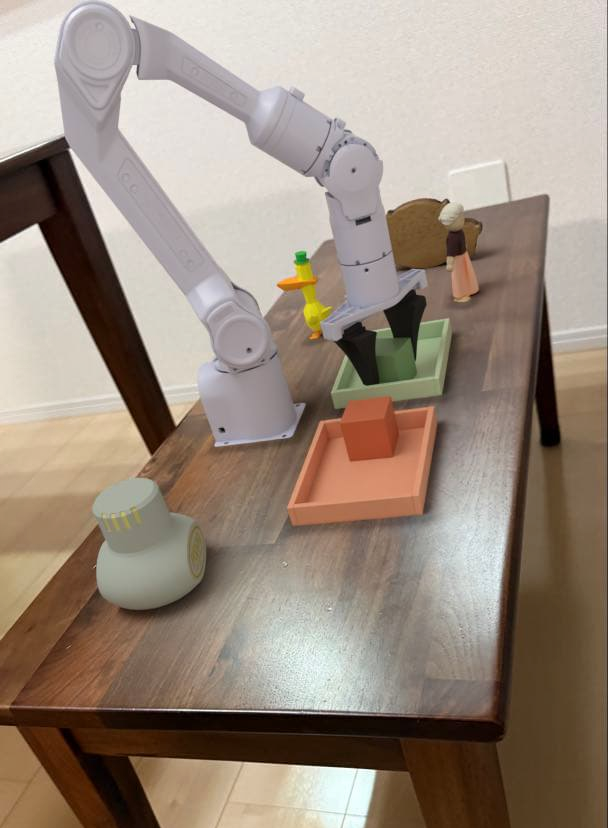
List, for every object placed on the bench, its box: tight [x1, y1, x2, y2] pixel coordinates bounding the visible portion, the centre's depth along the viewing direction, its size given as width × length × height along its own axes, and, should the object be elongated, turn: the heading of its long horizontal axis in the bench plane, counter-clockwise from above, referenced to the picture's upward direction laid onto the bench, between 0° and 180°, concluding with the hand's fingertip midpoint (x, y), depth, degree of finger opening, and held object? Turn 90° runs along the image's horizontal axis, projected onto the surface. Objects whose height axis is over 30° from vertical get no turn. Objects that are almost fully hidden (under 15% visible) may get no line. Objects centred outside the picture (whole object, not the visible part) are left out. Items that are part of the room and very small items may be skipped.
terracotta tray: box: [286, 405, 438, 527], centre depth 82 cm, size 12×16×3 cm
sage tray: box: [330, 317, 453, 410], centre depth 99 cm, size 12×16×3 cm
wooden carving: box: [385, 197, 484, 269], centre depth 125 cm, size 16×5×10 cm, turn 77°
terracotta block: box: [340, 396, 399, 461], centre depth 85 cm, size 4×4×4 cm
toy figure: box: [276, 250, 333, 340], centre depth 112 cm, size 7×4×12 cm, turn 73°
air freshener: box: [91, 477, 207, 611], centre depth 74 cm, size 11×8×10 cm
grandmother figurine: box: [438, 202, 480, 303], centre depth 110 cm, size 8×4×13 cm, turn 168°
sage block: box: [365, 338, 417, 386], centre depth 96 cm, size 4×4×4 cm
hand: (390, 372), depth 96 cm, fingers closed on sage block, 5 cm apart
